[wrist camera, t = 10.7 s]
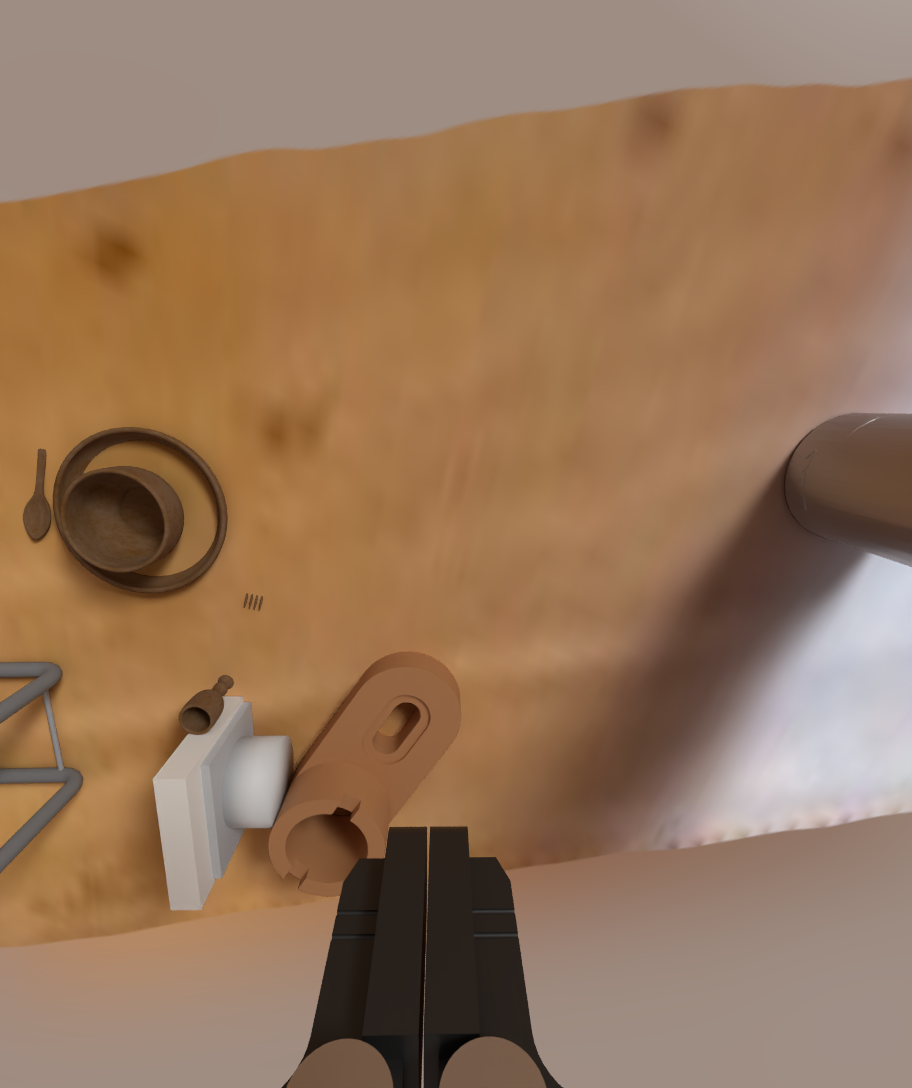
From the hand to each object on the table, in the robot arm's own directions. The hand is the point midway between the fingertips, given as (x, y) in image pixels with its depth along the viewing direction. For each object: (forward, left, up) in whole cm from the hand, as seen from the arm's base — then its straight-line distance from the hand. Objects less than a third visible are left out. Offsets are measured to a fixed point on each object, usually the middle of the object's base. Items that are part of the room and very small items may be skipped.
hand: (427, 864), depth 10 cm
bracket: (+5, +18, -31) cm, 37 cm away
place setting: (+22, +3, -32) cm, 39 cm away
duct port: (+15, +19, -31) cm, 39 cm away
